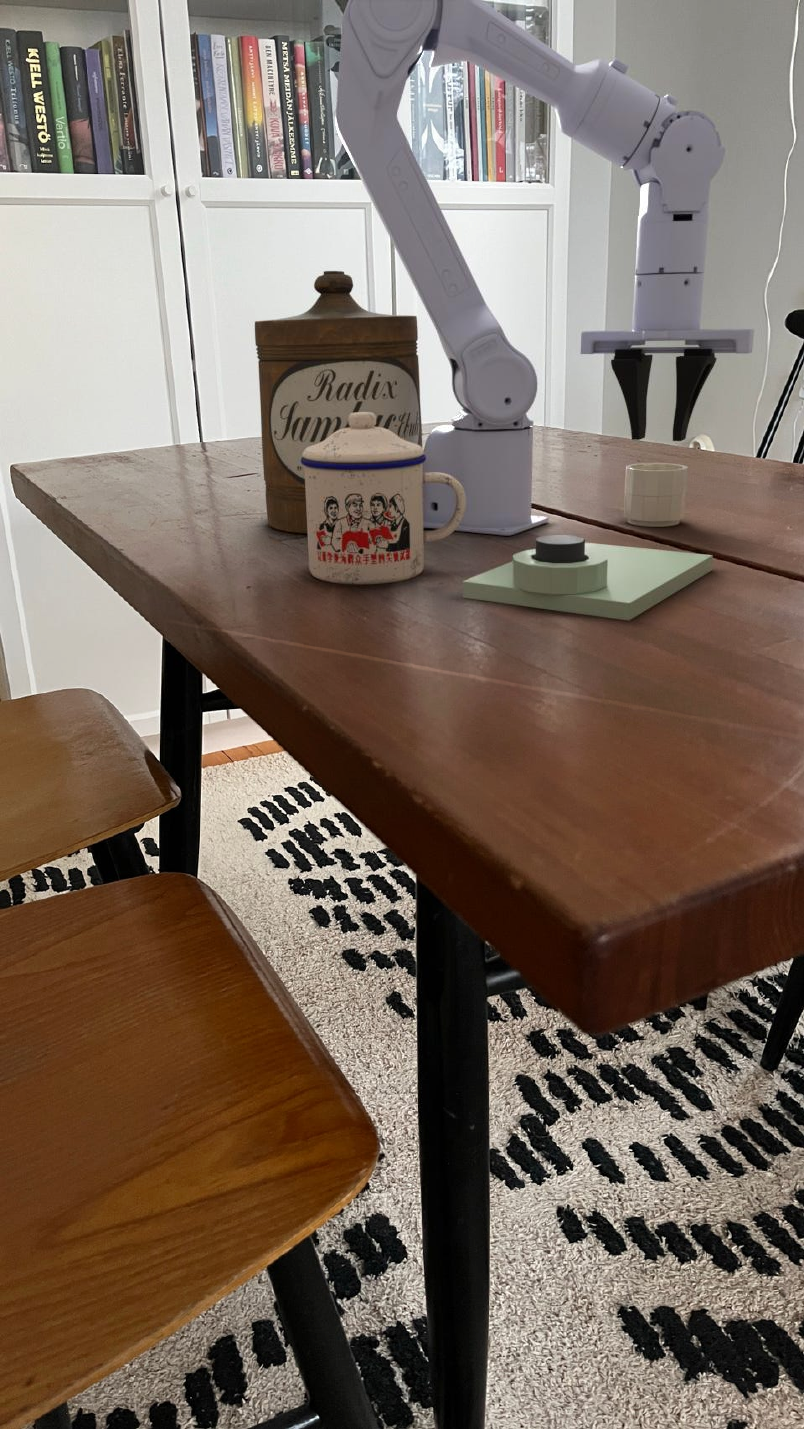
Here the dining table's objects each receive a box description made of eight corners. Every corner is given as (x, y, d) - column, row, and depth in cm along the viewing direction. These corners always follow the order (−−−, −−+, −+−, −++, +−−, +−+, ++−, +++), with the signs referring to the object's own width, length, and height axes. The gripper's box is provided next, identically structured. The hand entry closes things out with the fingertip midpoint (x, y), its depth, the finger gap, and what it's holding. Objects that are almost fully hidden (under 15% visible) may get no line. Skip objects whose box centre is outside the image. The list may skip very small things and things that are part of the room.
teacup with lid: (302, 588, 75) (293, 419, 71) (310, 561, 84) (303, 409, 80) (469, 584, 75) (470, 416, 71) (461, 558, 84) (461, 406, 80)
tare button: (571, 569, 68) (572, 545, 67) (526, 564, 69) (527, 541, 69) (592, 560, 70) (593, 537, 70) (548, 555, 72) (549, 533, 71)
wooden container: (279, 541, 92) (260, 267, 84) (258, 514, 106) (241, 276, 98) (442, 529, 95) (438, 264, 88) (402, 504, 109) (396, 273, 101)
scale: (625, 623, 65) (628, 576, 64) (458, 600, 71) (458, 556, 70) (711, 571, 78) (715, 530, 77) (563, 555, 84) (564, 517, 83)
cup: (613, 524, 96) (616, 468, 95) (636, 515, 101) (639, 461, 99) (671, 529, 93) (675, 472, 92) (692, 519, 98) (696, 464, 96)
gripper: (572, 277, 89) (566, 441, 94) (749, 270, 83) (733, 447, 88) (596, 278, 95) (590, 433, 100) (763, 273, 89) (748, 438, 94)
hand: (658, 439), depth 94 cm, fingers open, 3 cm apart
